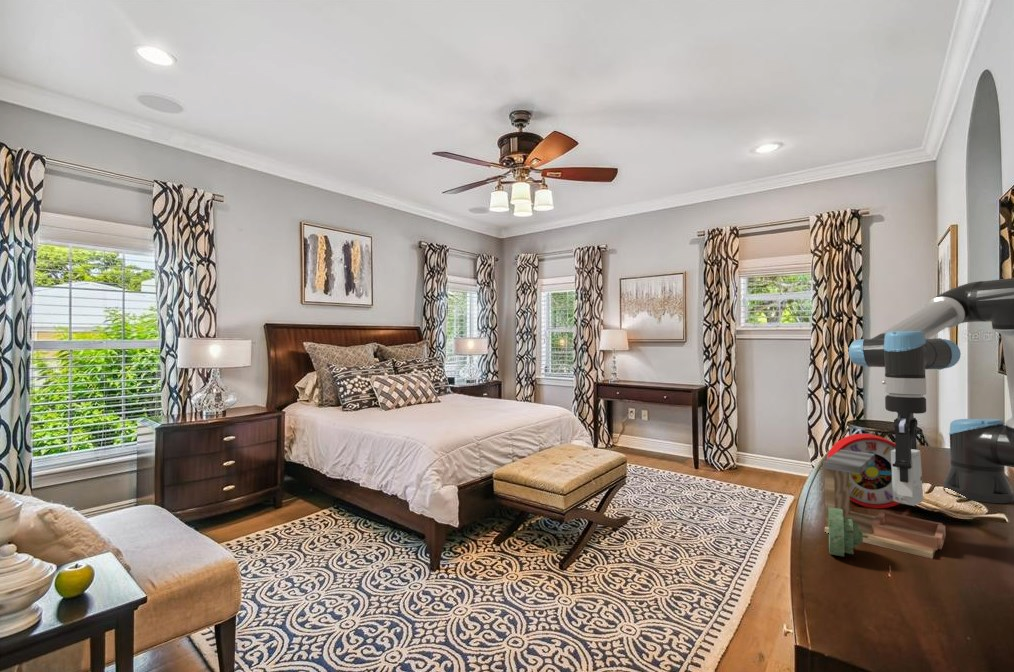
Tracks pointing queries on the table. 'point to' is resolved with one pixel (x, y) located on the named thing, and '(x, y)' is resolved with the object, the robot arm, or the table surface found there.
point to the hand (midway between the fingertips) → (907, 491)
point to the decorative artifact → (842, 533)
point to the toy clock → (870, 470)
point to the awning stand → (885, 526)
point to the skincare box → (916, 480)
